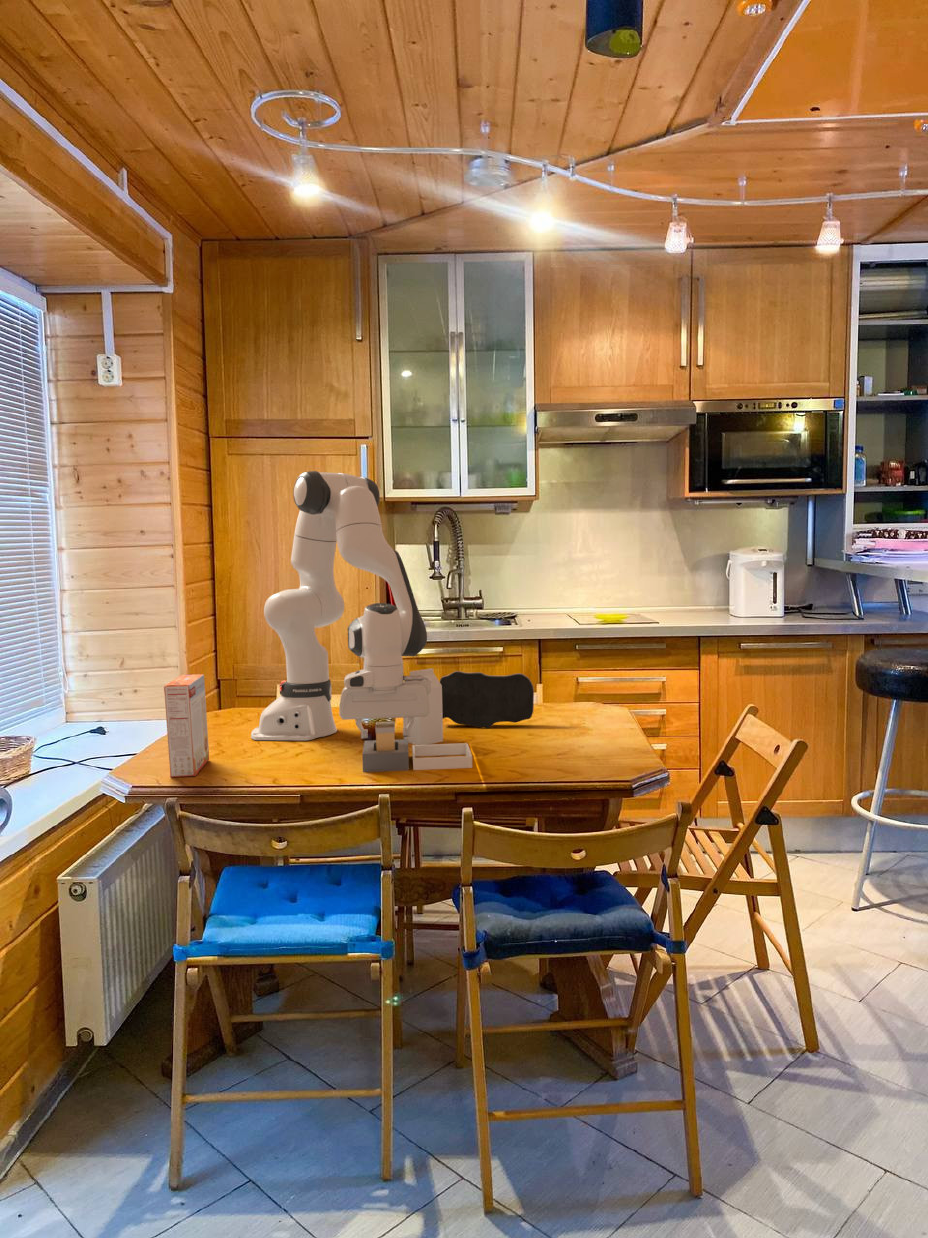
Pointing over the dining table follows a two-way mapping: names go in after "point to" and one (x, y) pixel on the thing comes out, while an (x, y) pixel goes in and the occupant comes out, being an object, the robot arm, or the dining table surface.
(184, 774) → the cracker box
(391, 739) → the fuse
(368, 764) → the fuse holder
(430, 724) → the milk carton
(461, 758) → the parts tray
